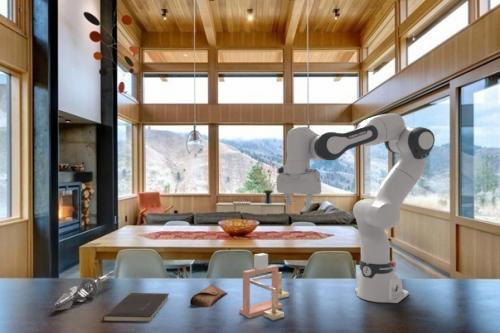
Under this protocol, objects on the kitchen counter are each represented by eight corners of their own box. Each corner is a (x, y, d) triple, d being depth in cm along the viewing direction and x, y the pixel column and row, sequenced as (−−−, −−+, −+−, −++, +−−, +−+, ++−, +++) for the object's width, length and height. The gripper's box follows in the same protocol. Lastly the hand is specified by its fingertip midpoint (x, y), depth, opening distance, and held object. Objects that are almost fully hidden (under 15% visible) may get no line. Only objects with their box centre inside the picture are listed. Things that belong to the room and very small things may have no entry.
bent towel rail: (280, 293, 145) (280, 270, 145) (315, 306, 130) (315, 280, 130) (239, 304, 132) (239, 278, 132) (273, 320, 117) (273, 291, 117)
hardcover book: (168, 299, 139) (168, 293, 139) (150, 323, 116) (150, 316, 116) (128, 298, 139) (129, 292, 139) (102, 322, 116) (102, 315, 116)
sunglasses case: (210, 307, 128) (202, 290, 129) (195, 315, 130) (187, 298, 131) (228, 292, 145) (221, 278, 146) (215, 300, 147) (208, 285, 148)
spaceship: (126, 267, 155) (111, 259, 156) (67, 302, 121) (49, 292, 122) (120, 283, 156) (106, 275, 158) (61, 322, 122) (43, 312, 124)
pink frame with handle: (239, 312, 124) (239, 255, 124) (271, 303, 133) (271, 250, 134) (249, 318, 119) (250, 258, 120) (281, 308, 128) (282, 253, 129)
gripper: (325, 168, 126) (325, 207, 126) (285, 169, 142) (285, 203, 142) (313, 168, 122) (313, 208, 122) (273, 169, 138) (273, 204, 138)
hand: (297, 205), depth 132 cm, fingers open, 8 cm apart
